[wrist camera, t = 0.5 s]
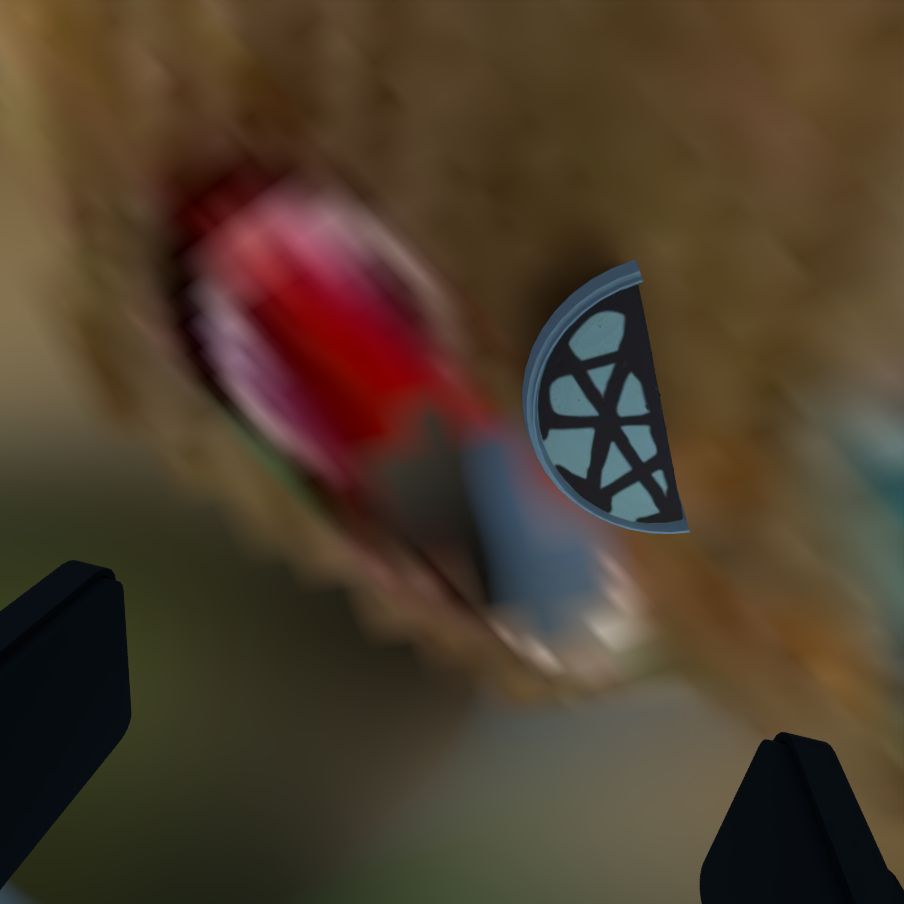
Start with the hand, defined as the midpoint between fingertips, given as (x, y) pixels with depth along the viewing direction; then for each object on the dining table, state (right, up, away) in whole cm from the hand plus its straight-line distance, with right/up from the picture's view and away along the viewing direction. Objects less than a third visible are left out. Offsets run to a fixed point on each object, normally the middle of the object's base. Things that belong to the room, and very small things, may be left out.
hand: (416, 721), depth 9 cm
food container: (+8, +9, +28) cm, 30 cm away
